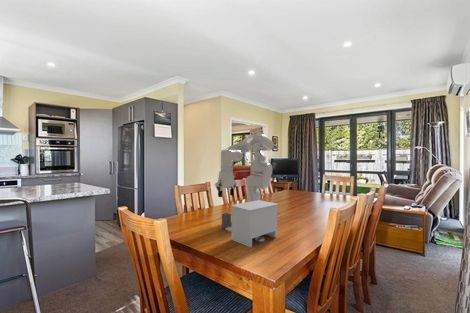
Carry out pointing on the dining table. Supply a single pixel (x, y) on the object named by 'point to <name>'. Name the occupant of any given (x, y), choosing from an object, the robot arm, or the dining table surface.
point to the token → (260, 239)
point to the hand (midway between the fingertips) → (226, 196)
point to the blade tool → (226, 222)
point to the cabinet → (253, 221)
